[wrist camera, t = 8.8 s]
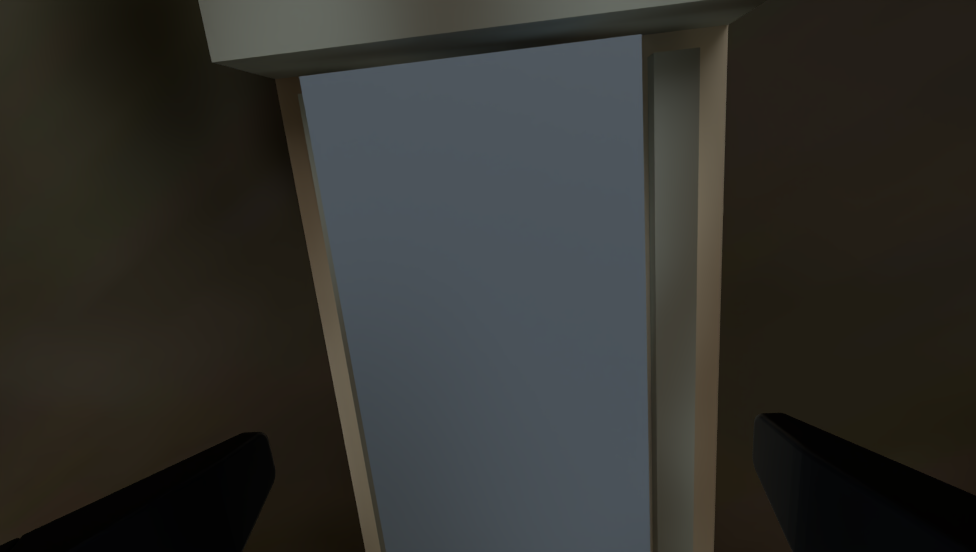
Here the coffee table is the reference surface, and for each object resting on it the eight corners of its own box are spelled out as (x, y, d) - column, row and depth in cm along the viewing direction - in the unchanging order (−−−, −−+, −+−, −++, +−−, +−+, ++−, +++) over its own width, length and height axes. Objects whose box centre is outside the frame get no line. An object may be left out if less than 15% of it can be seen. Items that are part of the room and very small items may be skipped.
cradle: (715, -106, 11) (793, -214, 8) (700, 652, 17) (741, 777, 14) (271, -40, 12) (174, -109, 9) (396, 647, 18) (366, 761, 15)
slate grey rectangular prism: (586, 90, 12) (641, 33, 6) (607, 562, 15) (654, 819, 9) (409, 110, 12) (299, 76, 6) (469, 563, 16) (432, 807, 10)
